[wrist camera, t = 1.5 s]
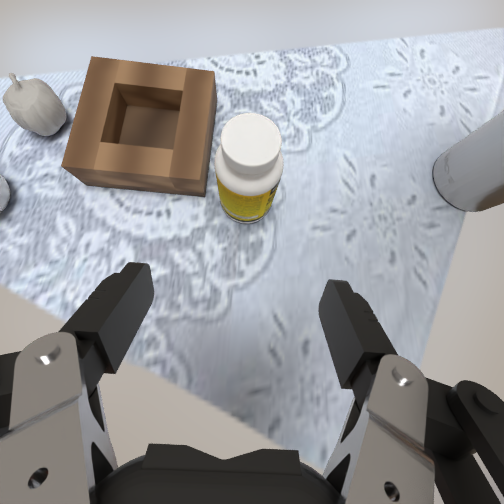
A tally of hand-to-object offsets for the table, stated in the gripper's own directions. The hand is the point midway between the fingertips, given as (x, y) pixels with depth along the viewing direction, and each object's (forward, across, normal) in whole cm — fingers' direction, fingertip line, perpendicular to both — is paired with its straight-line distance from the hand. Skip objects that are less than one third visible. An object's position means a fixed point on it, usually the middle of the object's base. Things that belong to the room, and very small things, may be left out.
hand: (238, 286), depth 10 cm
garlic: (+25, +25, -2) cm, 35 cm away
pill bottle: (+19, 0, +3) cm, 19 cm away
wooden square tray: (+24, +12, -2) cm, 27 cm away
